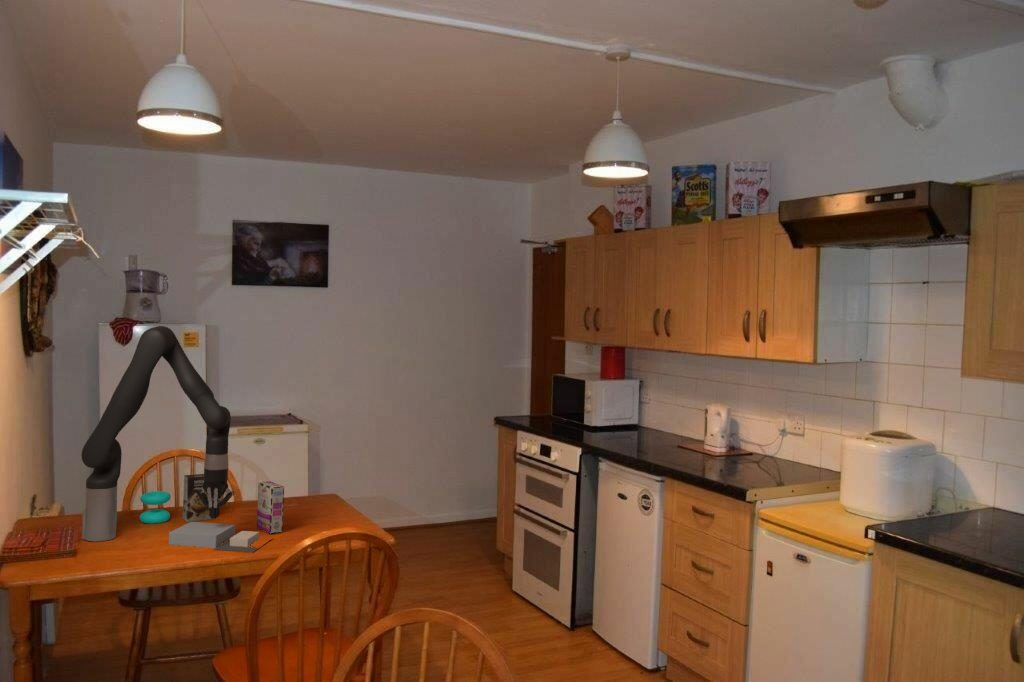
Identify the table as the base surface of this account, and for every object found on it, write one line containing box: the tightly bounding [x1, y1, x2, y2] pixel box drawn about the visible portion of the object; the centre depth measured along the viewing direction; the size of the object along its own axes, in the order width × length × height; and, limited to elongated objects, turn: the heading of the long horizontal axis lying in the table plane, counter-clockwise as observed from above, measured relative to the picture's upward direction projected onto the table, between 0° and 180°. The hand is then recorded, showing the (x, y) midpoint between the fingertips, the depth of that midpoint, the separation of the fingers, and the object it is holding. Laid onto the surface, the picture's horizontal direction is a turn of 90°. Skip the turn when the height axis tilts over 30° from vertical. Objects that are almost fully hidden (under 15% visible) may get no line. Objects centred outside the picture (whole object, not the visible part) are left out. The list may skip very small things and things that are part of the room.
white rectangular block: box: [230, 530, 260, 547], centre depth 263 cm, size 6×9×2 cm, turn 174°
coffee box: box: [182, 473, 212, 523], centre depth 290 cm, size 9×6×16 cm
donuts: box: [139, 490, 172, 524], centre depth 286 cm, size 10×10×10 cm
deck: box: [168, 521, 236, 549], centre depth 264 cm, size 16×14×4 cm
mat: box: [213, 540, 258, 553], centre depth 262 cm, size 13×16×1 cm
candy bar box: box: [256, 480, 285, 535], centre depth 279 cm, size 11×5×16 cm, turn 42°
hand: (214, 518), depth 264 cm, fingers closed
